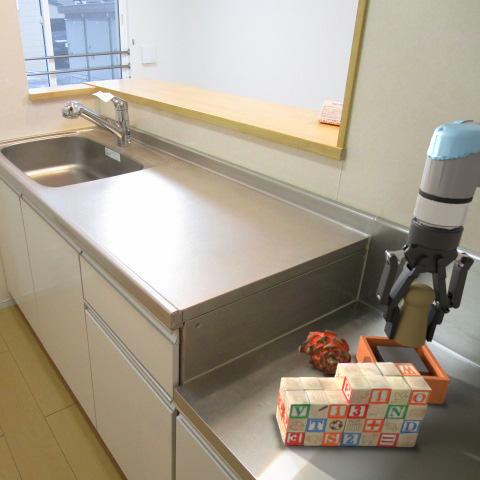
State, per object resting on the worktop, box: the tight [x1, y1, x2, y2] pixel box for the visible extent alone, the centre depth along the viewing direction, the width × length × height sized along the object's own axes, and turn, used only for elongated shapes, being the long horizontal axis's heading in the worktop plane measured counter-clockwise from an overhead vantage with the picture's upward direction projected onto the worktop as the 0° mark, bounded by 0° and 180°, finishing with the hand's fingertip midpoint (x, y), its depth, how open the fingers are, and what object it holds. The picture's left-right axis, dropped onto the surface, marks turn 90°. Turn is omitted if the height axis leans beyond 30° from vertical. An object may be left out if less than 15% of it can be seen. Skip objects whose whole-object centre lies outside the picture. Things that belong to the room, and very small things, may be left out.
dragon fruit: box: [298, 329, 352, 375], centre depth 90 cm, size 8×8×12 cm
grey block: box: [375, 346, 429, 376], centre depth 87 cm, size 7×7×4 cm
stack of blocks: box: [275, 362, 432, 448], centre depth 74 cm, size 21×6×12 cm, turn 89°
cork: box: [393, 281, 435, 348], centre depth 81 cm, size 6×6×11 cm
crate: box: [355, 335, 451, 405], centre depth 87 cm, size 12×12×6 cm
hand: (407, 336), depth 84 cm, fingers closed on cork, 6 cm apart
